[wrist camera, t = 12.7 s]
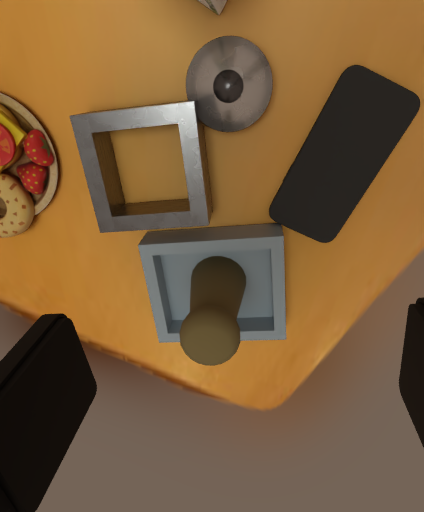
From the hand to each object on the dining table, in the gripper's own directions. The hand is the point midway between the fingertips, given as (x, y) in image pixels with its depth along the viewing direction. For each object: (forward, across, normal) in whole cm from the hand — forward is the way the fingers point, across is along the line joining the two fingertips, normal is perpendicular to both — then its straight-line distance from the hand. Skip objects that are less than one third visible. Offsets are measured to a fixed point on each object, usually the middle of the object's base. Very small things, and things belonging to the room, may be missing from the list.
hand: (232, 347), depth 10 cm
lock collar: (+26, +6, -2) cm, 27 cm away
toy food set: (+26, +26, -3) cm, 37 cm away
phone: (+27, -8, +2) cm, 28 cm away
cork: (+25, +5, +13) cm, 29 cm away
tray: (+26, +5, +13) cm, 30 cm away
